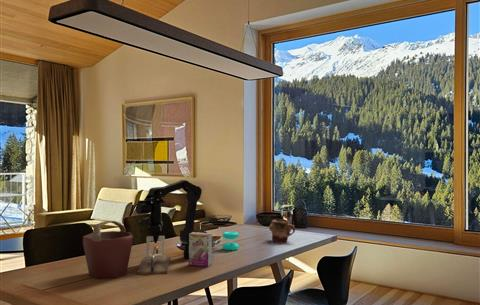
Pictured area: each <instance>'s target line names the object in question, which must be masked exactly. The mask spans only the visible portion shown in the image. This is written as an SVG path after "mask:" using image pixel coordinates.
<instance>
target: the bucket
mask: <svg viewBox="0 0 480 305" xmlns="http://www.w3.org/2000/svg"><path fill="white" fill-rule="evenodd" d="M110 223H111V224H114V225H115V226H117V227H118V229H119V231H118V230H117V231H116V230H110V231H109V230H108V231H101V227H102V226H105V225H107V224H110ZM92 227H93V232H91V233H89V234H86V235H83V236H82V245H83V250H84V256H85V260H86V266H87V270H88V275H89V277H91V278H93V279H95V280H112V279H113V280H114V279H118V278H120V277H124V276H126V275H127V272H128V268H129V267H128V266H129V263H130V262H129V261H130V257H131V253H132V247H133V242H134V241H133V237H134V236H133V234H132V232H130V231H126V228H125V226H124V224H122V223H120V222H118V221H116V220H107V221H106V220H105V221H101V222H100V223H97V224H95V225H93V226H92Z"/></svg>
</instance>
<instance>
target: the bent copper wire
mask: <svg viewBox="0 0 480 305" xmlns="http://www.w3.org/2000/svg"><path fill="white" fill-rule="evenodd" d="M152 250H153V251H152V254H153V255H152V257H151V271H154V256H155V254H159V245H155V246H153V249H152Z"/></svg>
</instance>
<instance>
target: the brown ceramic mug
mask: <svg viewBox="0 0 480 305" xmlns="http://www.w3.org/2000/svg"><path fill="white" fill-rule="evenodd" d="M268 227H269V228H268V229H269V231H270V232H271V241H272V242H274V241H276V242H275V243H285V241H286V242H288V238H289V237H290V236H292V235H293V234H294V233H295V232H296V227H295V225H293V224H291V223H290V221H289V220H287V219H273V220H271V222H270V225H269V226H268Z"/></svg>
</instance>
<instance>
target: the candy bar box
mask: <svg viewBox="0 0 480 305" xmlns="http://www.w3.org/2000/svg"><path fill="white" fill-rule="evenodd" d="M212 241H213V234H212V233H210V232H209V233H208V232H192V233H189V259H188V266H193V267H194V266H195V267H203V268H209V267H211V266H212V264H213V263H212V261H213V260H212V259H213V258H212V257H213V255H212V254H213V251H212V249H213V248H212V247H213V246H212V245H213V242H212Z"/></svg>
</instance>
